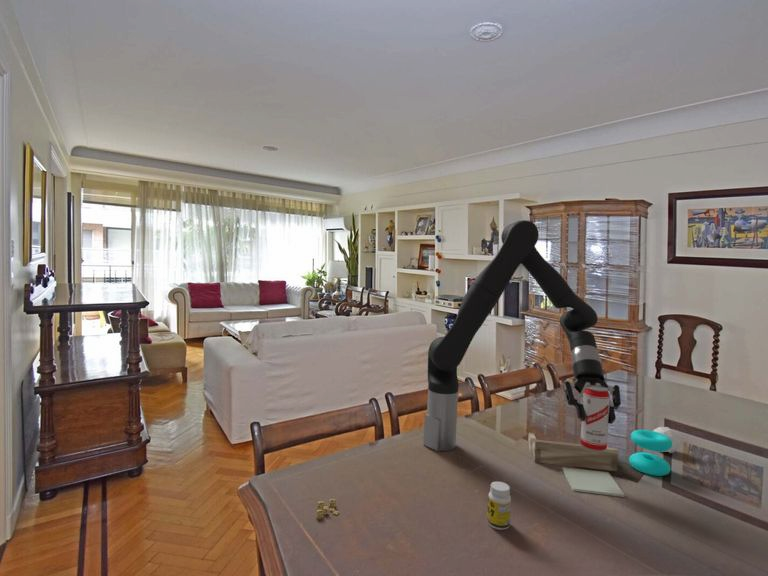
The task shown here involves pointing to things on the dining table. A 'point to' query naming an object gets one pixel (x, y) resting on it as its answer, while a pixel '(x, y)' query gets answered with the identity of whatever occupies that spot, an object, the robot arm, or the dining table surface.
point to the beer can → (595, 418)
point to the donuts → (646, 460)
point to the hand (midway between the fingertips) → (597, 420)
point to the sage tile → (592, 482)
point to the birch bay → (572, 454)
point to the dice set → (326, 508)
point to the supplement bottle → (499, 506)
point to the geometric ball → (671, 435)
